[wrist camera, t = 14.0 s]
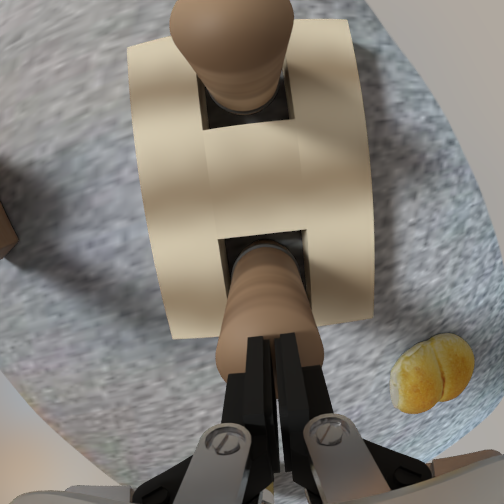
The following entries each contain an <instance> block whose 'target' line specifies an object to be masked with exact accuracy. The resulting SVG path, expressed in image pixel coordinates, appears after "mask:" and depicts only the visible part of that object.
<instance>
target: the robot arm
mask: <svg viewBox="0 0 504 504" xmlns="http://www.w3.org/2000/svg"><path fill="white" fill-rule="evenodd" d="M274 344H275V358H276V372H277V386H278V401H279V414H280V424H281V434H282V443H283V453H284V463H285V472H291V471H292V475H293V481H294V482H296V483H297V484H299V485H301V486H302V487H304V488H305V494H306V497H307V500H308V503H309V504H504V454H501V453H500V452H498V451H495V450H492V449H491V450H483V451H478V452H473V453H469V454H464V455H458V456H453V457H447V458H440V459H434V460H433V461H432V463H426V464H425V463H424V462H422V461H420V460H418V459H415V458H412V457H409V456H406V455H404V454H401V453H398V452H395V451H393V450H390V449H387V448H385V447H382V446H380V445H377V444H375V443H372V442H370V441H367V440H365V439H362V437H361V435H360V434H359V432H358V430H357V428H356V426H355V424H354V423H353V422H352V421H351V420H350V419H349V418H347V417H346V416H343V415H340V414H334V413H333V409H332V405H331V401H330V398H329V394H328V390H327V386H326V383H325V379H324V375H323V372H322V368H321V365H313V366H306V367H301V362H300V357H299V352H298V346H297V341H296V336H295V332H293V333H285V334H280V338H275V339H274ZM274 473H280V460H279V441H278V423H277V405H276V393H275V384H274V376H273V367H272V358H271V349H270V341H269V339H265V340H264V339H263V336H255V337H248V339H247V354H246V369H245V373H231V374H228V379H227V386H226V393H225V400H224V407H223V414H222V421H221V424H218V425H215V426H213V427H211V428H209V429H208V430H206V431H205V432H204V433H203V435H202V436H201V438H200V440H199V443H198V445H197V447H196V450H195V452H194V455H192V456H190V457H189V458H187V459H186V460H184V461H182V462H180V463H179V464H177V465H175V466H174V467H172V468H170V469H168V470H167V471H165V472H163V473H161V474H160V475H158V476H156V477H154V478H152V479H150V480H149V481H147V482H145V483H143V484H142V485H140V486H139V487H138V488H132V487H131V486H85V485H77V486H71V487H69V488H67V489H66V490H65V491H53V490H48V491H33V492H28V493H24V494H21V495H19V496H17V497H16V498H15V499H14V500H13V501H12V502H11V503H10V504H261V503H262V498H263V490H264V489H265V488H266V487H268V486H269V485H270V484H271V483H272V482H274Z"/></svg>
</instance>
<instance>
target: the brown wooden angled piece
mask: <svg viewBox="0 0 504 504" xmlns="http://www.w3.org/2000/svg"><path fill="white" fill-rule="evenodd" d="M17 242H18V237H17V235H16V234H15V232H14V230H13V228H12V226H11V224H10V221H9V219H8V217H7V215H6V213H5V211H4V209H3V207H2V204H1V202H0V260H1V259H3V258H4V257H5V255H6V254H7V253H8V252H9V251H10V250H11V249H12V248H13V247H14V246H15V245H16V244H17Z"/></svg>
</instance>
